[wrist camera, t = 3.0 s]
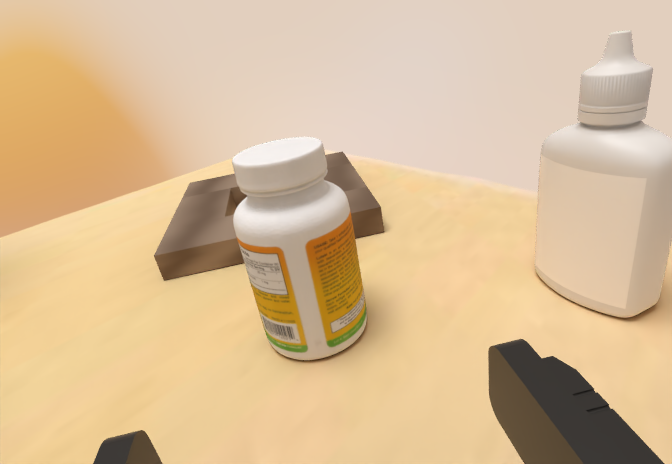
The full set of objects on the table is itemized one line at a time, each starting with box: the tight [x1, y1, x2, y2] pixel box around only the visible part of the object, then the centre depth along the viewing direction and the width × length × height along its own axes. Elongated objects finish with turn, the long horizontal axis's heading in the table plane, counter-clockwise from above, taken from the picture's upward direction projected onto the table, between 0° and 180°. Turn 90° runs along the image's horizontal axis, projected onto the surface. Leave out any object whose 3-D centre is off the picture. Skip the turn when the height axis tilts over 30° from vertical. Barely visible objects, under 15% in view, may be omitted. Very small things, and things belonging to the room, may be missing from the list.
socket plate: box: [154, 152, 384, 280], centre depth 37 cm, size 16×16×2 cm
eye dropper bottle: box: [535, 31, 672, 318], centre depth 19 cm, size 4×6×12 cm
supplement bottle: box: [232, 137, 367, 360], centre depth 20 cm, size 5×5×10 cm
